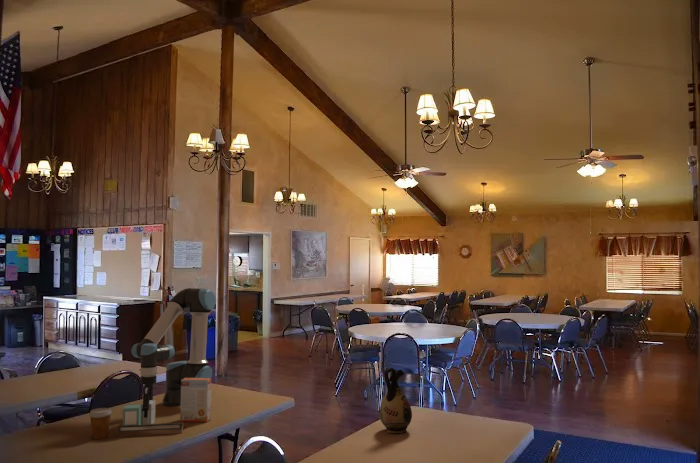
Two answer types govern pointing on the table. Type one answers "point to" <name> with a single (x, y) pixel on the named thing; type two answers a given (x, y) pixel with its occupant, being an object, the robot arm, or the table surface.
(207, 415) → the cracker box
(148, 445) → the table surface
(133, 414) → the tea box
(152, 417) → the small box
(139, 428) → the shelf board
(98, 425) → the disposable coffee cup
